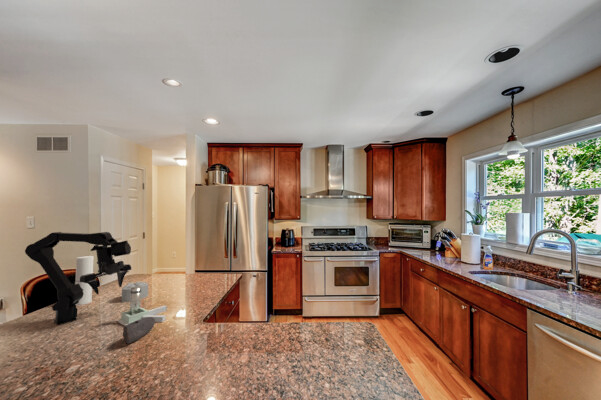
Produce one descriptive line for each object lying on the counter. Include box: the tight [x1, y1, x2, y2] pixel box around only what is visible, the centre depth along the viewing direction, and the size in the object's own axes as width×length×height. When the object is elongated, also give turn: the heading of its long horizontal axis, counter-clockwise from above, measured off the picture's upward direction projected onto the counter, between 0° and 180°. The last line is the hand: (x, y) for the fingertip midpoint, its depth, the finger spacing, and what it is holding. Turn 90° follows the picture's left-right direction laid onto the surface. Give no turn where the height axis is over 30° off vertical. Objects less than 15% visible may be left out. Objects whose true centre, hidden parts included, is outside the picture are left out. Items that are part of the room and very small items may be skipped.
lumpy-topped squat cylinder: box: [120, 280, 149, 303], centre depth 140 cm, size 10×13×9 cm
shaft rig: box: [117, 305, 168, 327], centre depth 113 cm, size 19×18×4 cm
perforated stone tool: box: [122, 317, 156, 345], centre depth 96 cm, size 15×5×7 cm, turn 168°
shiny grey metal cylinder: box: [129, 286, 142, 316], centre depth 111 cm, size 4×4×14 cm
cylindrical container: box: [74, 255, 95, 306], centre depth 134 cm, size 7×7×25 cm
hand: (109, 290), depth 115 cm, fingers open, 9 cm apart
